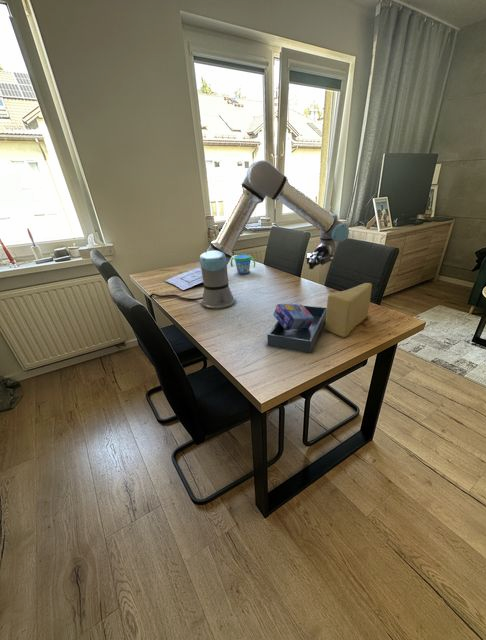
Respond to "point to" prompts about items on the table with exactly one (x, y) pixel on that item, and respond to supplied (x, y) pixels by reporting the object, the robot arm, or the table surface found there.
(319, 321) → the bin
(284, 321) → the ink cartridge box
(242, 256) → the snack cup
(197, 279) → the papers
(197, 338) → the table surface
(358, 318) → the cheese
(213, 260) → the robot arm
